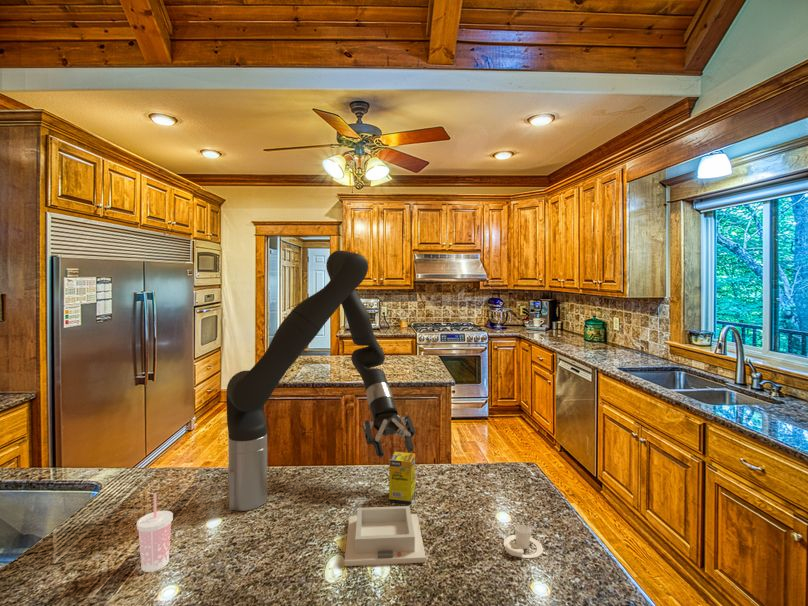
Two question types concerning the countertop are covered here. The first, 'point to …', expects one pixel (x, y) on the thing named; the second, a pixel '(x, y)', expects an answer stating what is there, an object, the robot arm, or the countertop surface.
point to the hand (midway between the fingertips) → (396, 454)
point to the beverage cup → (154, 539)
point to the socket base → (384, 537)
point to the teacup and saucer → (522, 542)
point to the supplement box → (402, 477)
